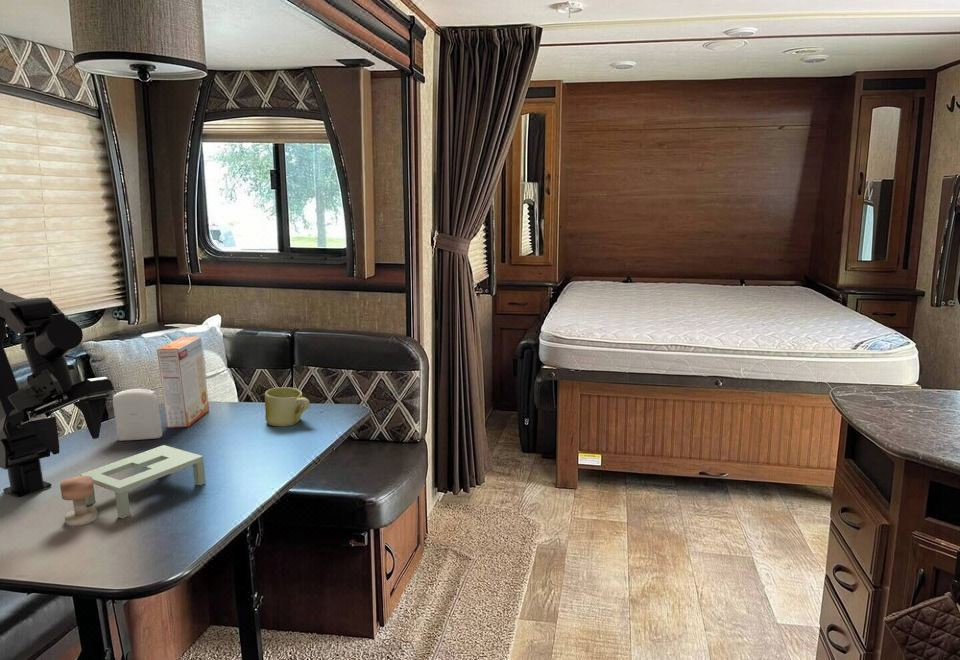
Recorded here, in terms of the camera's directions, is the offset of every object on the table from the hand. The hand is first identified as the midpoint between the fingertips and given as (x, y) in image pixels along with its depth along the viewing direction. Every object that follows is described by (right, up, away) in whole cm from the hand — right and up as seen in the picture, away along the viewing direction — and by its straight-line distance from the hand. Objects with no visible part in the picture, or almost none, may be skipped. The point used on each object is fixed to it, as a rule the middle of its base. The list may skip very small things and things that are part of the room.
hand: (76, 446), depth 129 cm
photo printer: (-10, -6, +46) cm, 47 cm away
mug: (+24, -3, +55) cm, 60 cm away
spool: (0, -14, +3) cm, 14 cm away
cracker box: (-4, -3, +59) cm, 59 cm away
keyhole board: (+6, -12, +14) cm, 19 cm away
